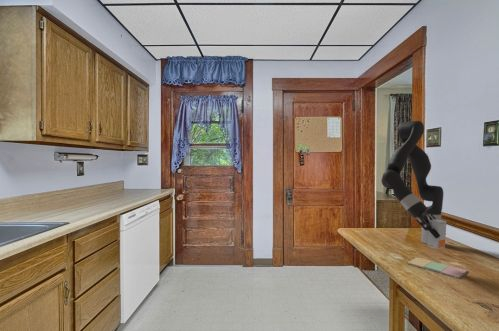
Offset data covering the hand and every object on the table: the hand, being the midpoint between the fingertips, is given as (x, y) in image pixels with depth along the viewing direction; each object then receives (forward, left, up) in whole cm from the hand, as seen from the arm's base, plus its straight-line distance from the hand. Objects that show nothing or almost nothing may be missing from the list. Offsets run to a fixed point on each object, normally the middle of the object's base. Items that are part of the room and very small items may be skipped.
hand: (441, 236), depth 124 cm
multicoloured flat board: (0, -2, -15) cm, 15 cm away
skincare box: (0, -2, -6) cm, 6 cm away
